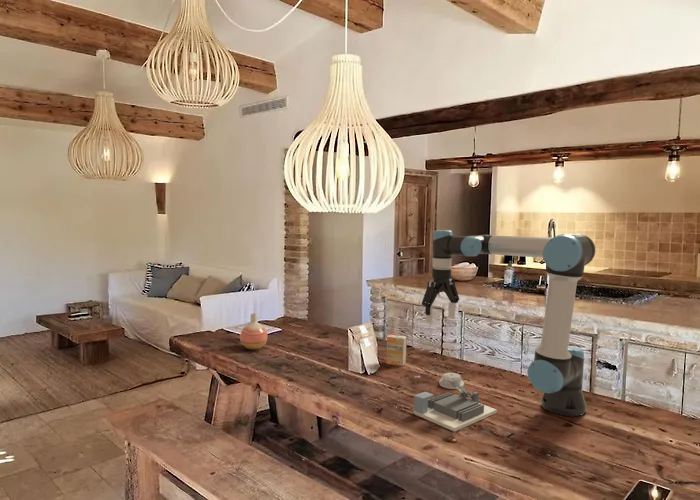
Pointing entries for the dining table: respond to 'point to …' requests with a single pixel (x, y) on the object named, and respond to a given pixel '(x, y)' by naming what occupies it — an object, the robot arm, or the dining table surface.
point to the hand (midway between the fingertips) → (440, 320)
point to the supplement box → (396, 350)
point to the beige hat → (452, 376)
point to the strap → (457, 386)
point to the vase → (253, 334)
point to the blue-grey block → (422, 402)
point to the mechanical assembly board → (455, 410)
